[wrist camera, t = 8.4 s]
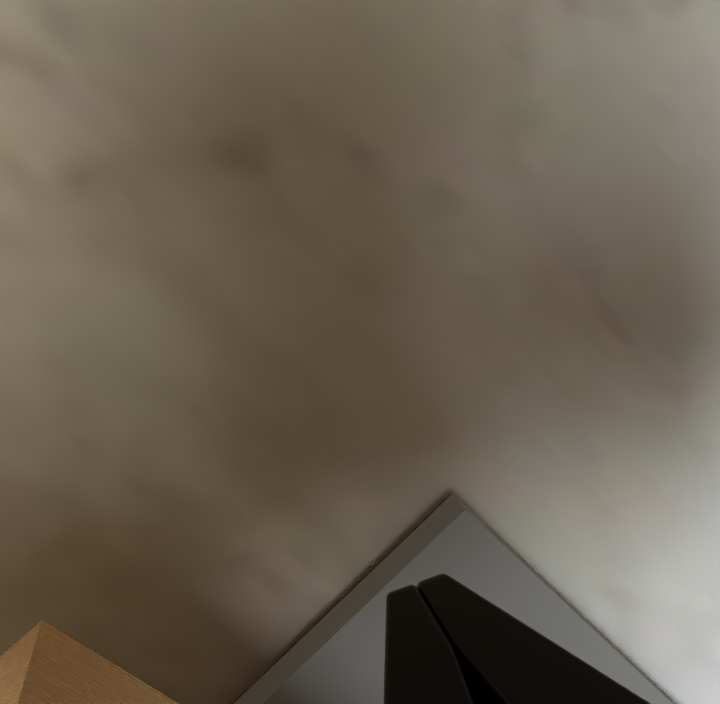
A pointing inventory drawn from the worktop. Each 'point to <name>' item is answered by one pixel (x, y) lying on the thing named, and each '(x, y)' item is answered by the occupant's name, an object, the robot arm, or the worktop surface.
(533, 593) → the mat
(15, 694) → the door handle
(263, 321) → the worktop surface
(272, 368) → the worktop surface
